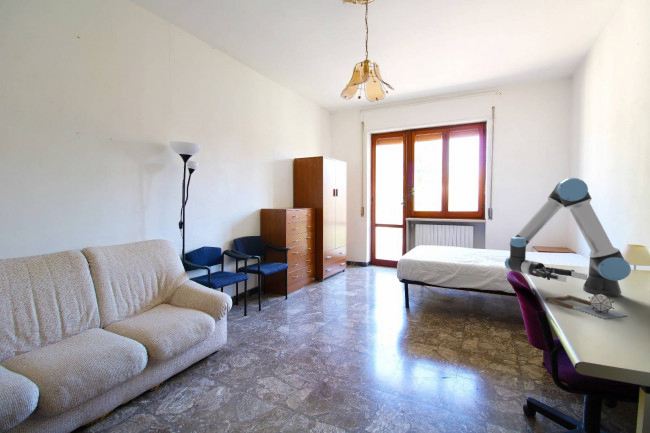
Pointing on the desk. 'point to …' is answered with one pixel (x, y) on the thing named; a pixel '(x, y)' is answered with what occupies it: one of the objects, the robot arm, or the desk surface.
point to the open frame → (557, 299)
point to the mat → (603, 314)
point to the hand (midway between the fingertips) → (576, 278)
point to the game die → (601, 302)
